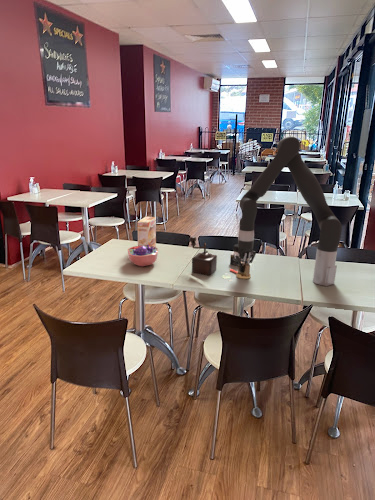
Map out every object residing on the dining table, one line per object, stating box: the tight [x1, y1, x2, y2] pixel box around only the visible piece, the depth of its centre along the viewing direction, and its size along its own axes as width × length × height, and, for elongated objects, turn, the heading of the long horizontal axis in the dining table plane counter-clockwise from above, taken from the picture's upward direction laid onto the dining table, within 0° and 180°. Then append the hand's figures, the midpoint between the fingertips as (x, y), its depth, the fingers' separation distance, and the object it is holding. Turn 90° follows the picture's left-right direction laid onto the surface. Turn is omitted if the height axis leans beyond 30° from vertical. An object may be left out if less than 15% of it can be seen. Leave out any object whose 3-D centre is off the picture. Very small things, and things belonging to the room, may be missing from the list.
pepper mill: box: [188, 236, 218, 277], centre depth 193 cm, size 16×11×18 cm
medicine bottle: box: [229, 243, 245, 267], centre depth 205 cm, size 7×7×12 cm
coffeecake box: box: [137, 216, 157, 248], centre depth 228 cm, size 15×7×20 cm, turn 167°
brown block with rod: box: [229, 263, 252, 280], centre depth 189 cm, size 14×7×7 cm, turn 34°
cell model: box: [127, 245, 159, 267], centre depth 205 cm, size 17×20×11 cm
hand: (243, 271), depth 187 cm, fingers closed on brown block with rod, 2 cm apart
